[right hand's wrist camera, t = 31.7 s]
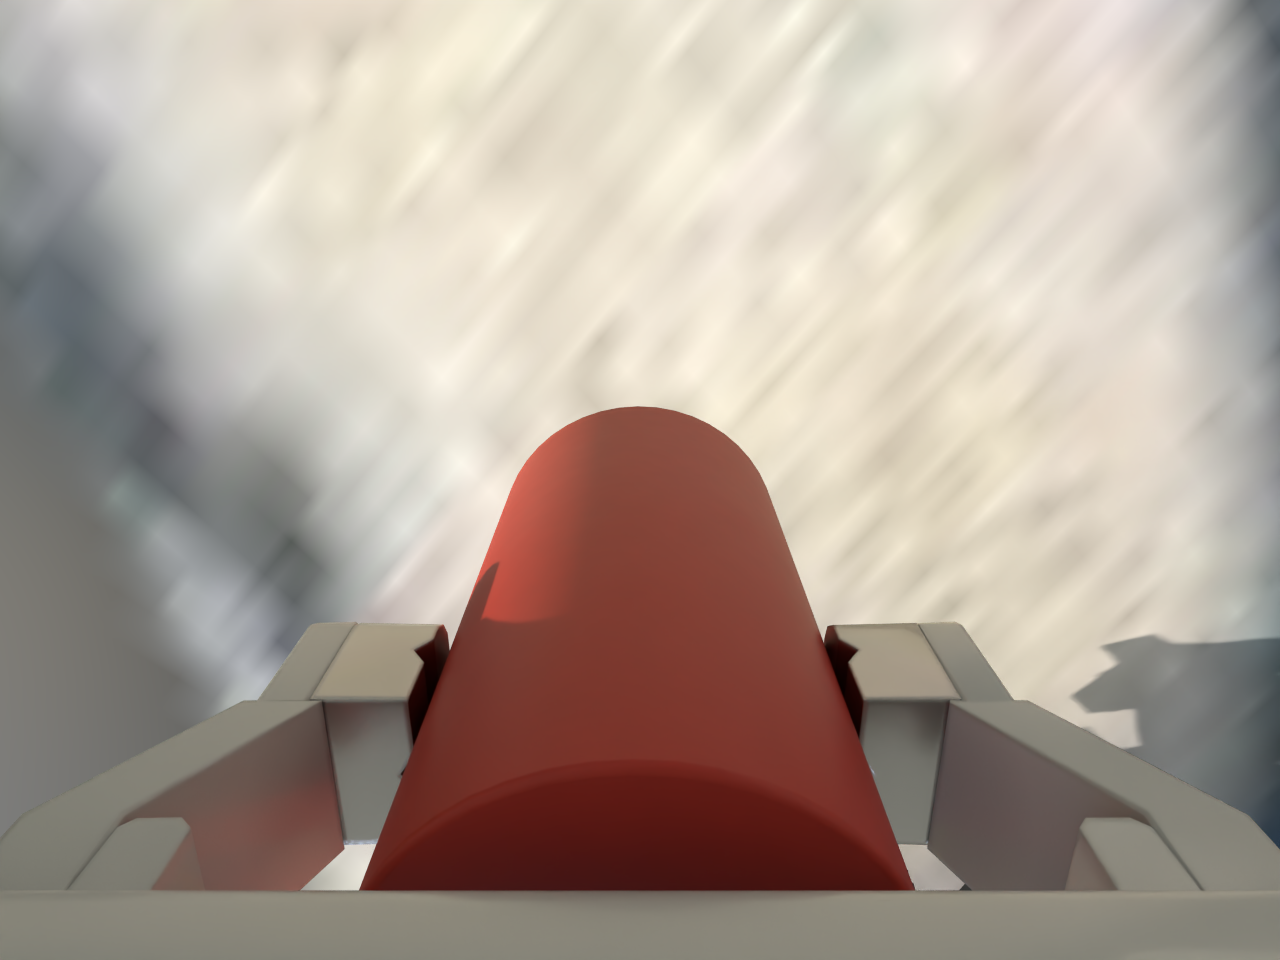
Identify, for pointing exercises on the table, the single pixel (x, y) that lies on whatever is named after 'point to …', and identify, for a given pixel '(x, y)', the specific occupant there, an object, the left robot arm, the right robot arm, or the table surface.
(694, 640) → the red cylinder
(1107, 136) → the table surface
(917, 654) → the right robot arm
